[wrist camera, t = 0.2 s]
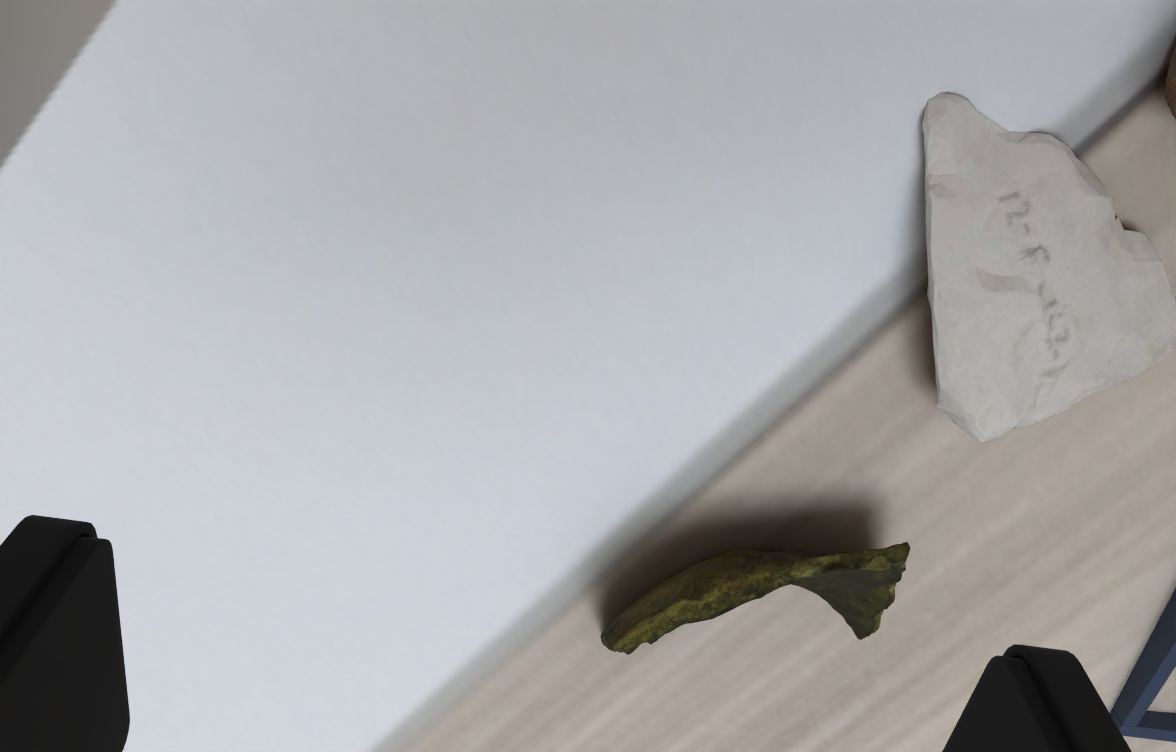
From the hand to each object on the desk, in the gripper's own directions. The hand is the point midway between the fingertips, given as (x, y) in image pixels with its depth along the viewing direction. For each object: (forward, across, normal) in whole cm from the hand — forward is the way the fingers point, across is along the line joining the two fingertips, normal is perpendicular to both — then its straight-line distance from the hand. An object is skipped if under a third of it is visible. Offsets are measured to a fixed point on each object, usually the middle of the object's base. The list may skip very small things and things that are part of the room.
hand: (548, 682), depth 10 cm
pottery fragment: (+29, -8, +28) cm, 41 cm away
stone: (+28, -23, +10) cm, 38 cm away
